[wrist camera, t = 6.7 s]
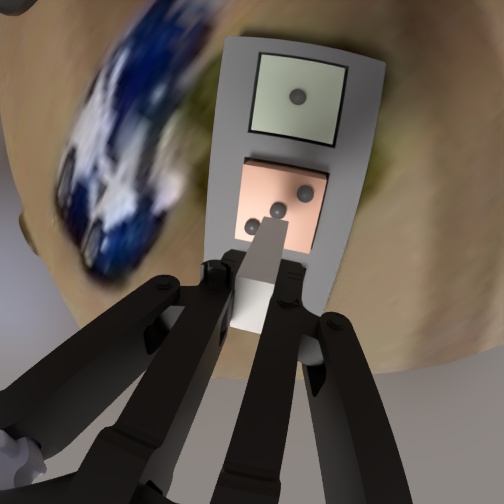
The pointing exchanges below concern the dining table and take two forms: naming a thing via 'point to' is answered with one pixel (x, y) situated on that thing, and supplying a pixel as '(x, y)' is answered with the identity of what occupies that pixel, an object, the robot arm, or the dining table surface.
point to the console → (292, 153)
